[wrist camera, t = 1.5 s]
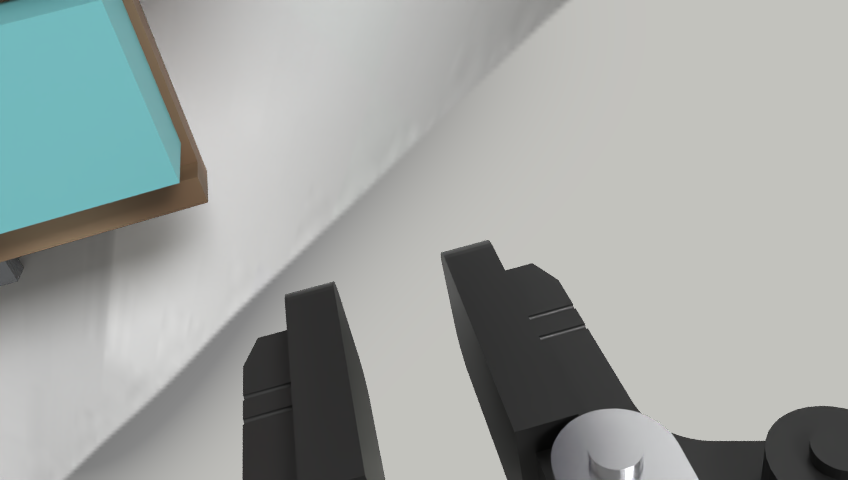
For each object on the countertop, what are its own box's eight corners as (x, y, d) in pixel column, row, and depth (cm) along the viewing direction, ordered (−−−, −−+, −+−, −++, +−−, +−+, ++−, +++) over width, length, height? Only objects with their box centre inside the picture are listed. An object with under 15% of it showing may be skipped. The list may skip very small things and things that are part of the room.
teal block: (111, -25, 22) (101, -1, 19) (180, 143, 25) (179, 182, 22) (-136, 36, 21) (-180, 70, 18) (-32, 202, 24) (-58, 250, 22)
